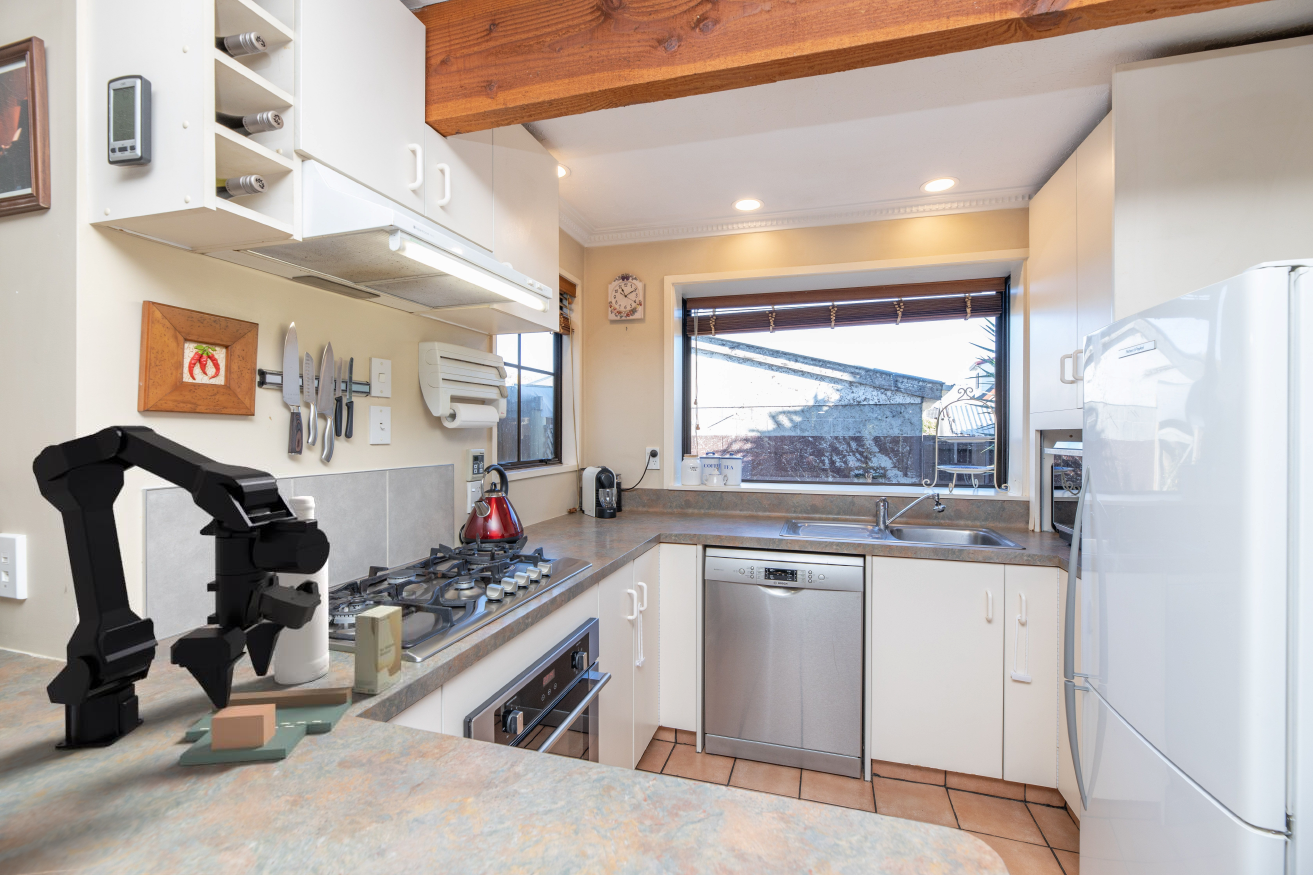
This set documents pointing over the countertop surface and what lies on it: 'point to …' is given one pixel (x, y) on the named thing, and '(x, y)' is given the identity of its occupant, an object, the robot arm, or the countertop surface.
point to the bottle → (307, 647)
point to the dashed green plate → (289, 708)
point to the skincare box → (377, 649)
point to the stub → (244, 737)
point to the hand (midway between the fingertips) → (243, 690)
